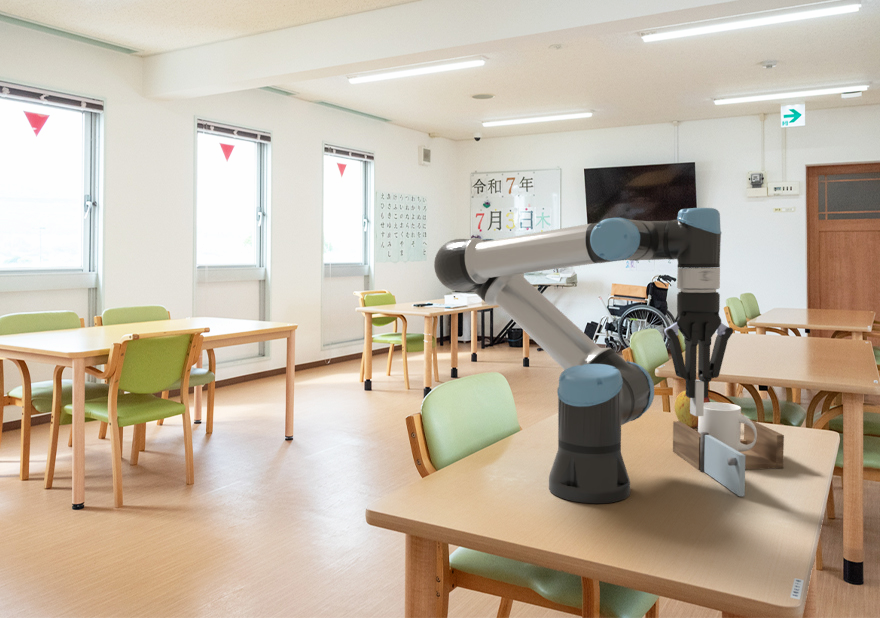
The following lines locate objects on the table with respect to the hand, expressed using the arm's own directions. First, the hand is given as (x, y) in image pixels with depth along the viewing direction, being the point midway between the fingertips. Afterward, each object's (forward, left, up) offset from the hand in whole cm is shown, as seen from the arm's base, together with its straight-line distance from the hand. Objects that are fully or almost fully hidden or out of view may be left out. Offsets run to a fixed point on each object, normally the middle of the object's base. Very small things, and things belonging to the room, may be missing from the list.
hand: (696, 414), depth 132 cm
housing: (+14, +18, -14) cm, 27 cm away
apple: (+19, +48, -15) cm, 54 cm away
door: (+5, +1, -14) cm, 15 cm away
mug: (+14, +17, -14) cm, 26 cm away
